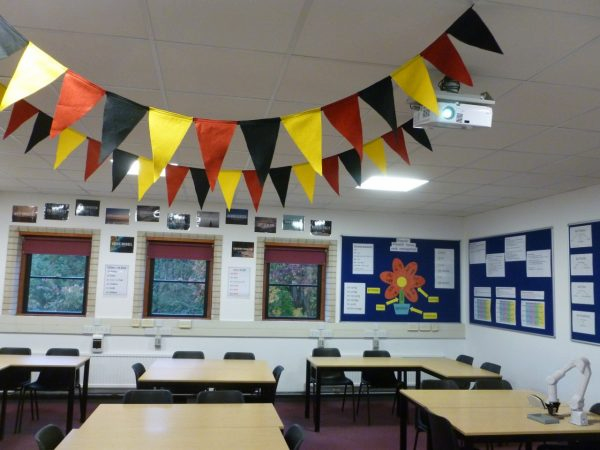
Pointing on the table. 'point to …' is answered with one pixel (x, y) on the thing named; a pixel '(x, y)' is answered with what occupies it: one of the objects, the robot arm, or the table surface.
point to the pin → (554, 412)
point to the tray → (543, 418)
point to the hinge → (536, 401)
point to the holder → (556, 416)
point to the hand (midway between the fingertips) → (553, 413)
